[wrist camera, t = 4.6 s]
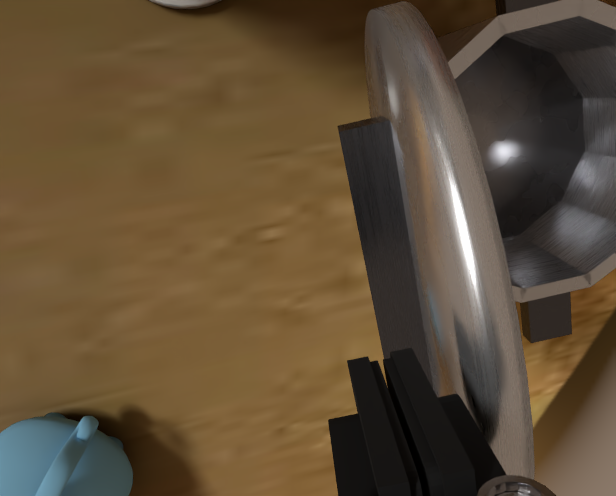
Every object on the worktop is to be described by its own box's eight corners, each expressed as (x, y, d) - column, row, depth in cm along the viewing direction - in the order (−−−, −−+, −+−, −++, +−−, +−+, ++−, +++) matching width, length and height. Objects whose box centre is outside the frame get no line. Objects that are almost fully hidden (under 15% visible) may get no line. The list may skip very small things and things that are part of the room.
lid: (372, 33, 25) (321, 46, 25) (490, -104, 7) (301, -51, 7) (422, 337, 31) (381, 344, 31) (554, 697, 13) (453, 705, 13)
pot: (318, 6, 33) (333, -28, 24) (585, -59, 33) (707, -121, 24) (379, 314, 42) (407, 379, 32) (592, 265, 41) (684, 316, 32)
